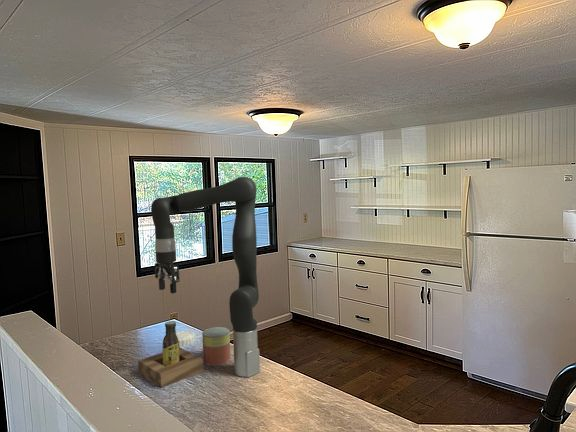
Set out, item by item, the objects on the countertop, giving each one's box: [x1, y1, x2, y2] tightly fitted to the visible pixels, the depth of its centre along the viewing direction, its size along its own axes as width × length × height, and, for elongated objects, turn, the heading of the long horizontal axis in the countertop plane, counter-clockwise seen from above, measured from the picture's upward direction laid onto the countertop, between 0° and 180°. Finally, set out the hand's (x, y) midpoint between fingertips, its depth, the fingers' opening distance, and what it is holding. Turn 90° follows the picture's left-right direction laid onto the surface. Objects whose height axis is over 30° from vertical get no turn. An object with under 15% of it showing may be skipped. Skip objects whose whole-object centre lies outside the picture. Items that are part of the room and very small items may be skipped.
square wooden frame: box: [137, 347, 204, 388], centre depth 167 cm, size 18×18×5 cm
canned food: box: [201, 326, 231, 367], centre depth 178 cm, size 11×11×12 cm
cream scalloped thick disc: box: [176, 330, 196, 348], centre depth 199 cm, size 12×12×4 cm
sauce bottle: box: [162, 320, 179, 367], centre depth 166 cm, size 6×6×20 cm
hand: (167, 291), depth 165 cm, fingers open, 8 cm apart
